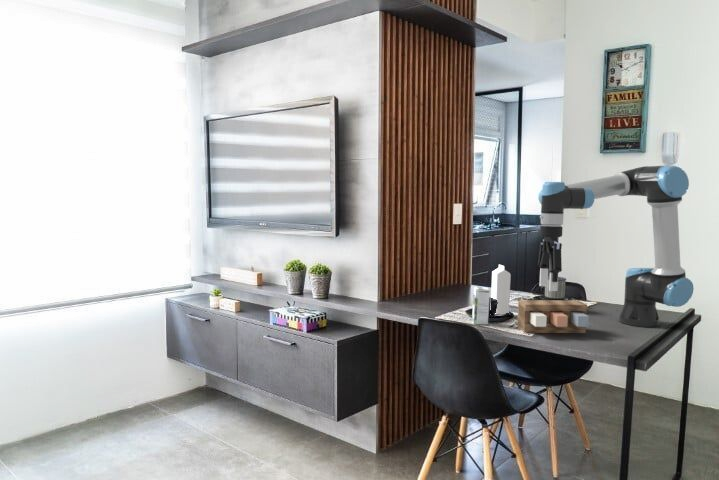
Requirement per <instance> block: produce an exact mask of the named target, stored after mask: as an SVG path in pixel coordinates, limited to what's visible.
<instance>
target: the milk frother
mask: <svg viewBox="0 0 719 480" xmlns="http://www.w3.org/2000/svg"><path fill="white" fill-rule="evenodd" d="M549 281H550V275H548V285H547V286H544V300H565V296H566V295H565V294H566V281H567V278H566V277H563V276H558V289H557V291H549ZM526 300H536V299H535V298H528V299H526Z"/></svg>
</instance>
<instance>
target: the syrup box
mask: <svg viewBox="0 0 719 480" xmlns="http://www.w3.org/2000/svg"><path fill="white" fill-rule="evenodd" d="M490 296H491V290H490V289H489V288H488V287H486V286H474V287H473V299H472V314H471V321H472V323H473V324H474V325H488V324H489V315H490V314H489V311H490Z"/></svg>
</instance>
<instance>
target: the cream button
mask: <svg viewBox="0 0 719 480" xmlns="http://www.w3.org/2000/svg"><path fill="white" fill-rule="evenodd" d="M546 320H547V316H546V315H544V314H542V313H541V312H539V311H529V322H530V323H531V324H533V325H534V326H535V327H546Z"/></svg>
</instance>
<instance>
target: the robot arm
mask: <svg viewBox="0 0 719 480" xmlns="http://www.w3.org/2000/svg"><path fill="white" fill-rule="evenodd" d="M565 183H566V182H563V181H545V182H544V183H543V184H542V187H541V190H540V191H539V193H538V201H539V203H540V205H541V207H540V208H541V210H540V216H539V219H540V224H541V225H540V227H539V230H540V231H539V235H540V237H544V238H543V239H539V252H538V260H537V266H539V268H540V270H539V284H538V285H539V287H545V286H547V285H548V276H550V281H549V291H557V289H558V277H559V273H560V272H561V273H562V270H563V268H562V267H563V266H562V263H563V262H562V247H563V244H562V243H561V242H559V241H558V238H561V237H563V226H562V225H564V210H565V209H567V210H568V209H569V210H571V209H572V210H576V209H577V210H578V209H579V210H585V209H586V210H587V209H589V208H592V206H594V203H595V200H598V199H602V198H607V197H608V198H609V197H612V196H613V197H614V196H618V197H625V196H638V197H639V196H640V197H646V203H647V204H648V205H650V206H651V213H652V214H651V215H652V216H651V217H652V231H653V232H652V233H653V249H654V267H631V268H628V269H627V270H626V274H625V283H624V301H623V304H622V307H621V310H620V311H619V314H618V322H619V323H620V324H621V323H622V324H625V325H629V326H634V327H639V328H640V327H641V328H655V327H659V326H660V317H659V314H658V311H657V306H656V305H657V304H656V303H659V304H662V305H665V306H668V307H676V308H677V307H683V306H685V305H686V304H687V303H688V302H689V301H690V300H691V299H692V297H693V294H694V289H695V288H694V284H693V281H692V280H691V279H689V278H688V277H686V270H685V269H684V268H683V267H682V266H681V248H680V246H681V245H680V229H679V227H680V225H679V208H678V207H679V204H680V203H681V202H682V201H683V196H684V195H686V193H687V191H688V189H689V186H690V181H689V177H688V174H687V172H686V171H685V170H683V169H682V168H681V167H679V166H677V165H666V164H665V165H655V166H653V165H651V166H647V165H646V166H638V167H635V168H631V169H628V170H624V171H619V172H616V173H615V174H613V175H612V176H608V177H607V176H606V177H601V178H596V179H591V180H585V181H581V182H574V183H570V184H565ZM549 263H550V264H549ZM549 265H550V267H549ZM549 269H550V270H549Z"/></svg>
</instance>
